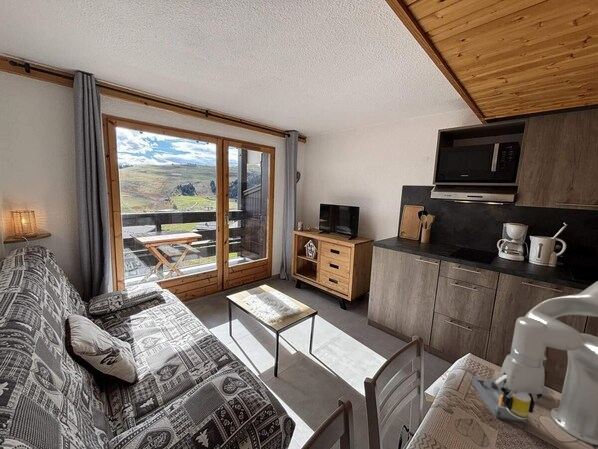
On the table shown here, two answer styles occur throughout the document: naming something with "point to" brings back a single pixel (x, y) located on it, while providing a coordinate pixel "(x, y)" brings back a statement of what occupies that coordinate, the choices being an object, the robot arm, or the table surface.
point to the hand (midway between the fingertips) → (517, 407)
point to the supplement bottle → (520, 405)
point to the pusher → (499, 398)
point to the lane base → (493, 398)
